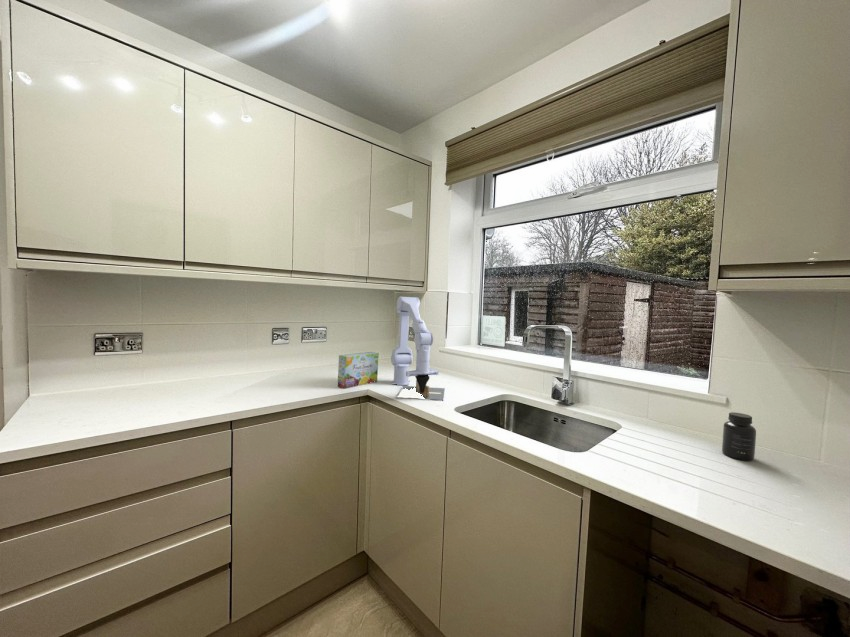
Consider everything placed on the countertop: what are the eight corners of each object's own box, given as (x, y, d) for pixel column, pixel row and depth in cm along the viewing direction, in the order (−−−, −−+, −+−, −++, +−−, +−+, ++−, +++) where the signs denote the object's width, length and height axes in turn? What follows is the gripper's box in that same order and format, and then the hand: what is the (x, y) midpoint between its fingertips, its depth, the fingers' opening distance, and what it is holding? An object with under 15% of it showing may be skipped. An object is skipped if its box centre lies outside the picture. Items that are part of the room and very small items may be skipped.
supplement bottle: (718, 449, 101) (721, 409, 100) (749, 455, 97) (752, 413, 97) (724, 457, 95) (728, 415, 94) (758, 464, 91) (761, 420, 91)
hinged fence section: (417, 391, 151) (417, 381, 151) (419, 391, 152) (419, 381, 151) (426, 397, 142) (427, 386, 142) (429, 397, 143) (429, 386, 143)
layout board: (403, 386, 163) (403, 374, 163) (444, 389, 161) (445, 376, 161) (395, 397, 143) (396, 383, 143) (443, 400, 141) (443, 386, 141)
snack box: (345, 389, 155) (345, 356, 154) (337, 387, 158) (338, 354, 157) (378, 381, 171) (379, 352, 171) (370, 380, 175) (371, 351, 174)
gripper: (410, 362, 137) (409, 396, 137) (442, 361, 143) (441, 393, 144) (404, 360, 143) (403, 391, 144) (434, 358, 150) (433, 389, 150)
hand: (421, 392), depth 144 cm, fingers closed
